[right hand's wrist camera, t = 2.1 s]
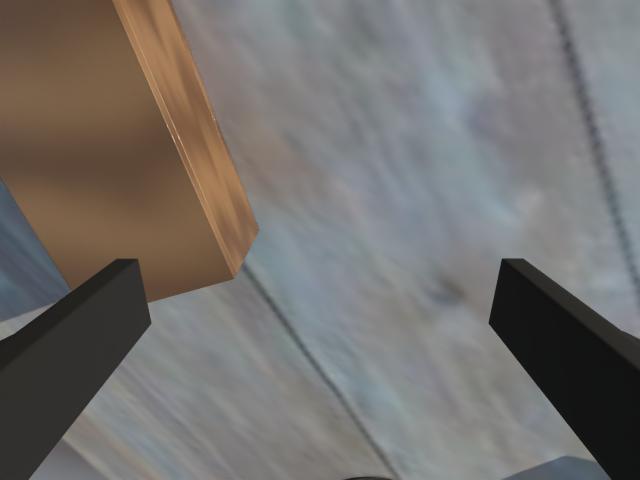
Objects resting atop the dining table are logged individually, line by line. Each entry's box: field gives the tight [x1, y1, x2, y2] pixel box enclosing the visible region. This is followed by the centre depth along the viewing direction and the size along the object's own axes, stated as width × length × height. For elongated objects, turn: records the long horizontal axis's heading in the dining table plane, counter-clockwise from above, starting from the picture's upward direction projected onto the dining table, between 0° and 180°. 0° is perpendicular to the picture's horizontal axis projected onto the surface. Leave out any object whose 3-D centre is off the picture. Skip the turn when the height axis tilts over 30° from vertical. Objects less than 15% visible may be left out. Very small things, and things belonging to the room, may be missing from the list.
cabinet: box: [0, 0, 259, 303], centre depth 25 cm, size 20×11×10 cm, turn 17°
